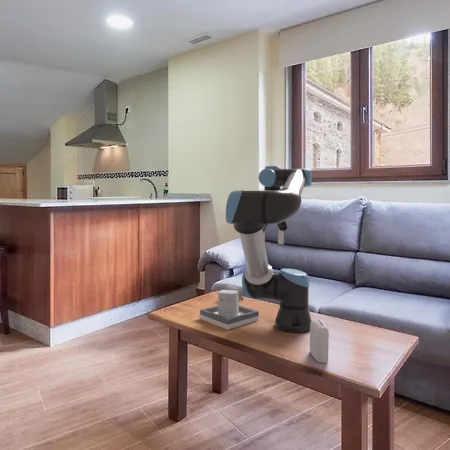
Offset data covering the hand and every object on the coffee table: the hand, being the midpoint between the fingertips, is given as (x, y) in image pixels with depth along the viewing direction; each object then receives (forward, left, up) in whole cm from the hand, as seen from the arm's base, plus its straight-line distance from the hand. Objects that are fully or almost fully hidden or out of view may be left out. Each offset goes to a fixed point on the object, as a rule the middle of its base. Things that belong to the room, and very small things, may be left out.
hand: (271, 245), depth 179 cm
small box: (+2, +26, -29) cm, 39 cm away
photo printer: (-47, +29, -31) cm, 63 cm away
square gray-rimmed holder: (+2, +25, -31) cm, 40 cm away
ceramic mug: (+23, +2, -31) cm, 39 cm away
